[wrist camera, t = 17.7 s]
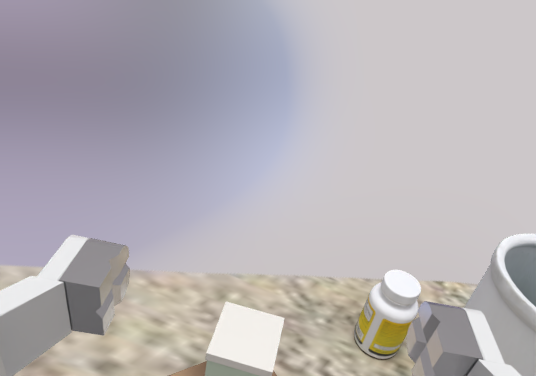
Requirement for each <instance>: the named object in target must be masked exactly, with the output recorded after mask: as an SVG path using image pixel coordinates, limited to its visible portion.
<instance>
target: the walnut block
mask: <svg viewBox="0 0 536 376" xmlns="http://www.w3.org/2000/svg"><path fill="white" fill-rule="evenodd" d="M206 364H207V361H206V362H203V363H201V364H198V365H195V366H193V367H190V368H187V369H185V370H182V371H179V372H177V373H174V374H172V375H169V376H205V371H206ZM272 376H276V374H275V372H274V370H273V373H272Z"/></svg>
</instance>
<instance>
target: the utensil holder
mask: <svg viewBox="0 0 536 376" xmlns="http://www.w3.org/2000/svg"><path fill="white" fill-rule="evenodd" d="M464 308H467V309H473V310H478V311H481V312H482V313H483V314H484V315H485V318H486V320H487V323H488V325H489V327H490V330H491V332H492V334H493V337H494V339H495V341H496V344H497V346H498V348H499V351H500V353H501V355H502V358H503V360H504V362H505V364H507V365H511V366H512V367H513V368H514V369H515V370H516V371H517V372H518V373H519V374H520V375H521V376H536V234H517V235H513V236H510V237H507V238H505V239H504V240H502V241H501V243H499V245H498V246H497V248H496V249H495V251H494V253H493V255H492V258H491V264H490V266H489V268H488V269H487V271H486V272H485V274H484V276H483V277H482V279H481V281H480V283H479V284H478V286H477V287H476V289H475V290H474V292H473V294H472V295H471V297H470V299H469V300H468V302H467V304H466V305H465V307H464Z"/></svg>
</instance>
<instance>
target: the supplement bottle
mask: <svg viewBox="0 0 536 376" xmlns="http://www.w3.org/2000/svg"><path fill="white" fill-rule="evenodd" d="M420 292H421V286H420V284H419V282H418V281H417V280H416V279H415V278H414V277H413V276H412V275H410V274H409V273H407V272H404V271H401V270H391V271H388V272H387V273H386V274H385V276H384V278H383V280H382V282H381V283H378V284H376V285H375V286H374V287H373V288H372V290H371V291H370V293H369V296H368V298H367V301H366V303H365V305H364V308H363V310H362V312H361V315H360V317H359V320H358V322H357V324H356V327H355V331H354V335H355V340H356V342H357V344H358V345H359V347H360V348H361V349H362V350H363V351H364V352H366V353H367V354H369V355H370V356H373V357H375V358H379V359H387V358H390V357H392V356H394V355H395V354H396V353H397V351H398V350H399V348H400V346H401V344H402V342H403V340H404V339H405V337H406V335H407V333H408V328H409V326H410V324H411V322H412V321H413V320H414V319H415V317H416V315H417V313H418V303H417V299H418V297H419V295H420Z"/></svg>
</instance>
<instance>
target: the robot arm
mask: <svg viewBox="0 0 536 376" xmlns="http://www.w3.org/2000/svg"><path fill="white" fill-rule="evenodd" d="M128 257H129V250H128V247H127V246H125V245H121V244H116V243H111V242H106V241H101V240H97V239H92V238H86V237H81V236H76V235H71V236H69V237H68V238H67V239H66V240H65V241H64V242H63V244H62V245H61V246H60V248H59V249H58V250H57V252H56V253H55V254H54V255H53V257H52V258H51V259H50V260H49V262H48V263H47V264H46V266H45V267H44V268H43V269H42V271H41V272H40V273H39V275H38V276H37V277H34V276H30V277H28V278H26V279H24V280H22V281H20V282H17V283H15V284H13V285H11V286H9V287H7V288H5V289H3V290H1V291H0V376H13V375H15V374H16V373H17V372H19V371H20V370H21V369H23V368H24V367H25V366H27V365H28V364H29V363H31V362H32V361H33V360H35V359H36V358H38V357H39V356H40V355H42V354H43V353H44V352H46V351H47V350H48V349H50V348H51V347H52V346H54V345H55V344H56V343H58V342H59V341H61V340H62V339H63V338H65V337H66V336H67V335H69V334H70V333H71V332H72V331H78V332H85V333H91V334H98V335H105V333H106V331H107V329H108V327H109V325H110V323H111V321H112V319H113V317H114V315H115V314H114V306H115V305H117V304H118V303H120V302H121V301H122V299H123V297H124V295H125V293H126V290H127V286H128V283H129V276H130V269H129V267H128V266H127V265H126V261H127V259H128ZM418 313H419V318H417V319H415V320H413V321H412V322H411V324H410V326H409V328H408V333H407V339H406V340H407V351H408V355H409V357H410V358H411V359H412V360H413V361H414V362H415V365H414V367H413V368H412V370H411V371H412V375H413V376H521V375H520V374H519V373H518V372H517V371H516V370H515V369H514V368H513V367H512V366H511V365H507V364H505V362H504V360H503V358H502V355H501V353H500V351H499V348H498V346H497V344H496V341H495V339H494V337H493V334H492V332H491V330H490V327H489V325H488V323H487V320H486V318H485V315H484V314H483V313H482V312H481V311H478V310H473V309H467V308H460V307H455V306H450V305H444V304H438V303H433V302H427V301H425V302H423V303H422V304H421V305H420V307H419V309H418ZM71 330H72V331H71Z"/></svg>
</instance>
